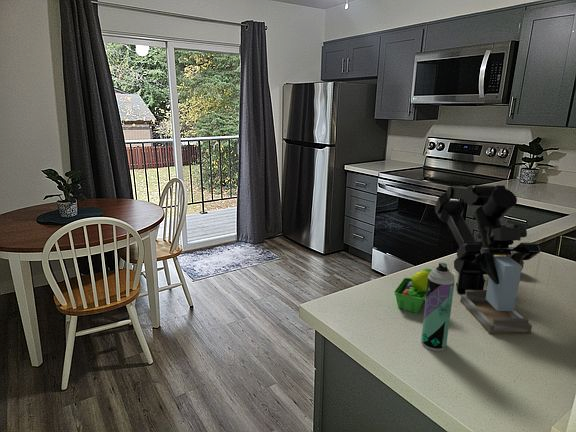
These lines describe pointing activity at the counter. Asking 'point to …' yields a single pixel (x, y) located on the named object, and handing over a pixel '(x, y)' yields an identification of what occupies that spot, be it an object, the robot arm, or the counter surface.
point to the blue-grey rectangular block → (504, 284)
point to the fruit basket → (412, 291)
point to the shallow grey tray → (494, 315)
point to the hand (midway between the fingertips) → (506, 283)
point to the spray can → (437, 308)
